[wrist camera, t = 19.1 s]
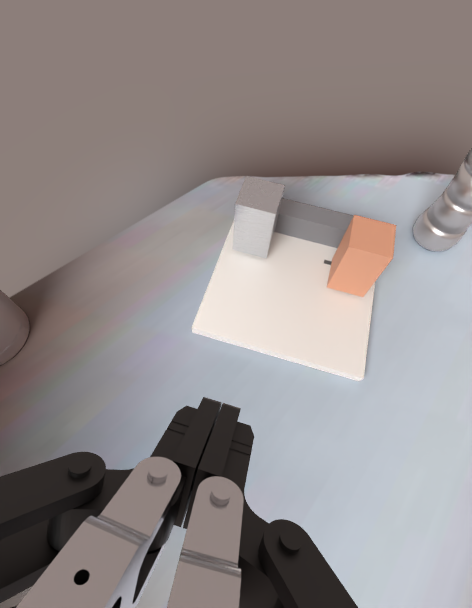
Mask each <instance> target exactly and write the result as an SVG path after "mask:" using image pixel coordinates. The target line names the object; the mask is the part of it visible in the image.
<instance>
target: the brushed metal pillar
mask: <svg viewBox="0 0 472 608" xmlns="http://www.w3.org/2000/svg"><path fill="white" fill-rule="evenodd" d="M284 187H285V185H282V184H277V183H273V182H269V181H265V180H261V179H257V178H253V177H249V176H246V178H245V181H244V183H243V186H242V188H241V191H240V193H239V196H238V198H237V201H236V203H235V216H234V233H233V250H236V251H240V252H243V253H247V254H251V255H255V256H258V257H262V258H267V255H268V252H269V249H270V245H271V242H272V239H273V236H274V232H275V228H276V223H277V219H278V214H279V210H280V205H281V201H282V196H283V192H284Z"/></svg>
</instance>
